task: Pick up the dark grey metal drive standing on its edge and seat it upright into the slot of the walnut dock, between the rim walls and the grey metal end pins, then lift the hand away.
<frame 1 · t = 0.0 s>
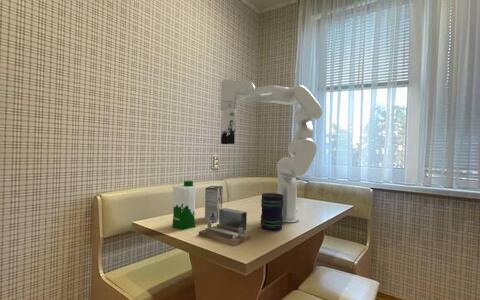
hand: (227, 144, 122), 37 cm above the table, tool pointing down, fingers open, 9 cm apart
milk carton: (183, 227, 116), on the table
coffee box: (213, 219, 130), on the table
dock: (224, 236, 105), on the table
storage jar: (271, 228, 118), on the table
drive: (232, 228, 116), on the table
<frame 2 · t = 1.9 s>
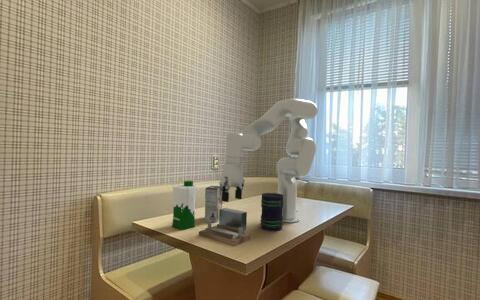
hand: (231, 200, 116), 13 cm above the table, tool pointing down, fingers open, 9 cm apart
nothing on the table moved.
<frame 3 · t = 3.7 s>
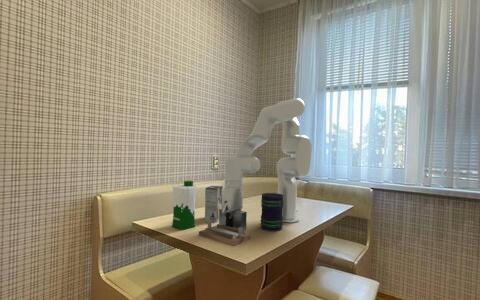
hand: (232, 225, 116), 1 cm above the table, tool pointing down, fingers closed on drive, 4 cm apart
drive: (232, 228, 116), on the table, touching gripper
everything else where it was.
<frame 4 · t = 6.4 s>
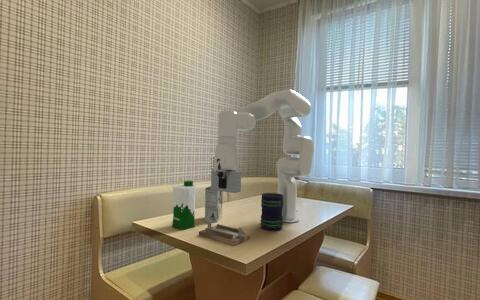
hand: (225, 187, 105), 20 cm above the table, tool pointing down, fingers closed on drive, 4 cm apart
drive: (225, 190, 105), point 18 cm above the table, touching gripper
everything else where it was.
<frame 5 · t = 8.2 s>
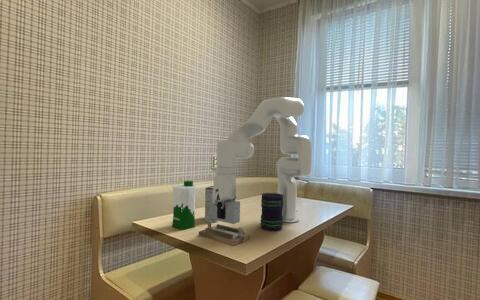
hand: (224, 216, 105), 8 cm above the table, tool pointing down, fingers closed on drive, 4 cm apart
drive: (224, 220, 105), point 7 cm above the table, touching gripper
everything else where it was.
when the fingers open (4 cm above the table, at t = 9.4 s): drive drops 1 cm, resting on dock.
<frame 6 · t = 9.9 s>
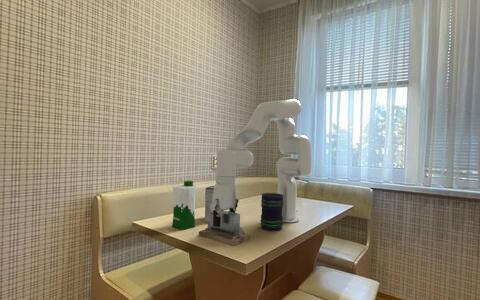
hand: (224, 223, 105), 5 cm above the table, tool pointing down, fingers open, 9 cm apart
drive: (224, 232, 105), point 2 cm above the table, touching dock
everything else where it was.
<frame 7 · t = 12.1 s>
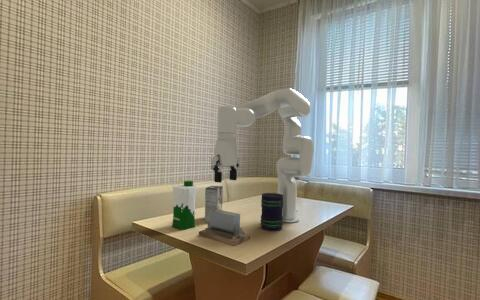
hand: (225, 181, 105), 22 cm above the table, tool pointing down, fingers open, 9 cm apart
nothing on the table moved.
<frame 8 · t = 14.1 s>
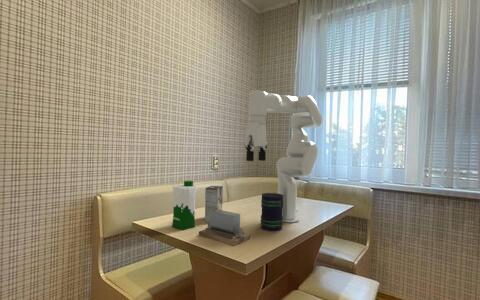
hand: (256, 160, 112), 30 cm above the table, tool pointing down, fingers open, 9 cm apart
nothing on the table moved.
at the end: drive 0.1 cm off-centre on the dock, point 1.7 cm above the dock's base; drive tilted 0°; the gripper is holding nothing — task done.
